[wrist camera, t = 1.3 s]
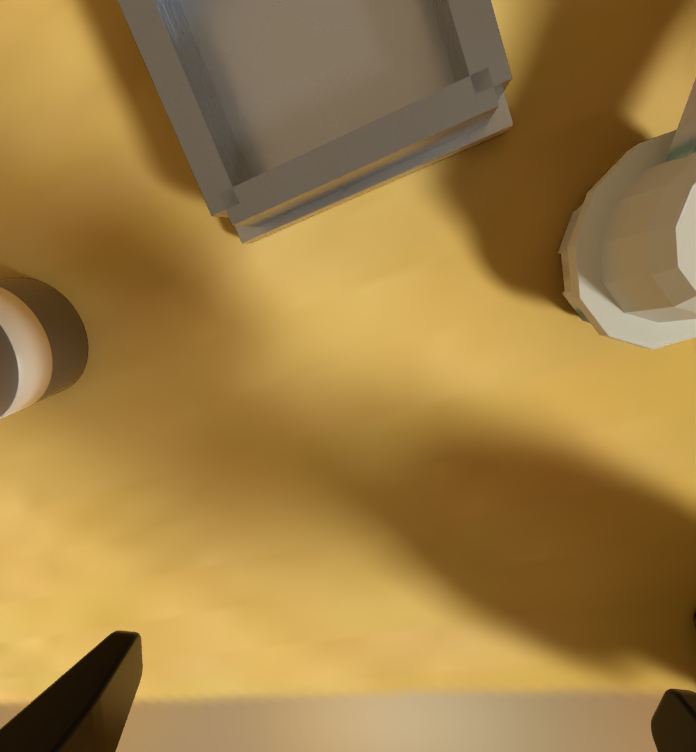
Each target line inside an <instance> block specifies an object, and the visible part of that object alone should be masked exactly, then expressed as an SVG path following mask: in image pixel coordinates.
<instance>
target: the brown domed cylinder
mask: <svg viewBox="0 0 696 752" xmlns="http://www.w3.org/2000/svg"><path fill="white" fill-rule="evenodd" d="M87 358H88V340H87V335H86V331H85V328H84V325H83V323H82V321H81V318H80V316H79V315H78V313H77V311H76V310H75V308H74V307H73V306H72V304H71V303H70V302H69V301H68V300H67V299H66V298H65V297H64V296H63V295H62V294H61V293H60V292H58V291H57V290H55V289H54V288H53V287H51V286H49V285H47V284H45V283H43V282H40V281H38V280H34V279H30V278H12V279H2V280H0V419H2V418H4V417H7V416H9V415H11V414H13V413H16V412H18V411H20V410H22V409H25V408H27V407H29V406H31V405H32V404H34V403H35V402H38V401H40V400H42V399H44V398H47V397H49V396H51V395H53V394H56V393H58V392H60V391H63V390H65V389H67V388H69V387H70V386H71V385H73V384H74V383H75V382H76V381H77V380H78V379H79V377H80V376H81V375H82V373H83V371H84V369H85V366H86V363H87Z"/></svg>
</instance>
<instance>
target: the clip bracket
mask: <svg viewBox="0 0 696 752" xmlns="http://www.w3.org/2000/svg"><path fill="white" fill-rule="evenodd" d="M117 1H118V3H119V5H120V7H121V10H122V12H123V14H124V17H125V19H126V21H127V23H128V26H129V28H130V30H131V33H132V35H133V37H134V39H135V42H136V44H137V46H138V49H139V51H140V53H141V55H142V58H143V60H144V62H145V65H146V67H147V69H148V71H149V74H150V76H151V78H152V81H153V83H154V85H155V87H156V90H157V92H158V94H159V97H160V99H161V101H162V103H163V106H164V108H165V110H166V113H167V115H168V117H169V119H170V122H171V124H172V126H173V129H174V131H175V133H176V135H177V138H178V140H179V142H180V145H181V147H182V149H183V151H184V154H185V156H186V158H187V161H188V163H189V165H190V168H191V170H192V172H193V174H194V177H195V179H196V181H197V184H198V186H199V188H200V190H201V193H202V195H203V197H204V200H205V202H206V204H207V206H208V209H209V211H210V213H211V216H215V217H225V218H229V219H230V221H231V224H232V226H235V228H236V231H237V233H238V235H239V238H240V240H241V242H242V243H252V242H254V241H256V240H259V239H261V238H263V237H266V236H268V235H270V234H273V233H275V232H277V231H279V230H282V229H284V228H286V227H289V226H291V225H293V224H296V223H298V222H300V221H302V220H305V219H307V218H309V217H312V216H314V215H316V214H318V213H321V212H323V211H325V210H328V209H330V208H332V207H335V206H337V205H339V204H341V203H344V202H346V201H348V200H351V199H353V198H355V197H358V196H360V195H362V194H364V193H367V192H369V191H371V190H374V189H376V188H378V187H381V186H383V185H385V184H387V183H390V182H392V181H394V180H397V179H399V178H401V177H404V176H406V175H408V174H410V173H413V172H415V171H417V170H420V169H422V168H424V167H427V166H429V165H431V164H433V163H436V162H438V161H440V160H443V159H445V158H447V157H449V156H452V155H454V154H456V153H459V152H461V151H463V150H466V149H468V148H470V147H472V146H475V145H477V144H479V143H482V142H484V141H486V140H489V139H491V138H493V137H495V136H498V135H500V134H502V133H505V132H507V131H508V130H509V129H510V128H511V127H512V126H513V122H512V118H511V115H510V111H509V107H508V104H507V100H506V97H505V93H504V90H505V89H506V87H507V86H508V84H509V82H510V81H511V79H512V76H511V72H510V68H509V65H508V61H507V58H506V54H505V50H504V47H503V43H502V39H501V36H500V32H499V29H498V25H497V21H496V18H495V14H494V10H493V7H492V3H491V0H117Z"/></svg>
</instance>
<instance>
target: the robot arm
mask: <svg viewBox="0 0 696 752" xmlns="http://www.w3.org/2000/svg"><path fill="white" fill-rule="evenodd" d="M694 623H695V627H696V612H695V614H694ZM142 669H143V664H142V646H141V636H140V635H139V633H137V632H129V631H115V632H113V633H111V634H110V635H109V636H108V637H106V638H105V639H104V640H103V641H102V642H101V643H99V644H98V645H97V646H96V647H95V648H94V649H93V650H91V651H90V652H89V653H88V654H87V655H86V656H84V657H83V658H82V659H81V660H80V661H79V662H77V663H76V664H75V665H74V666H73V667H72V668H70V669H69V670H68V671H67V672H66V673H65V674H64V675H62V676H61V677H60V678H59V679H58V680H57V681H55V682H54V683H53V684H52V685H51V686H50V687H48V688H47V689H46V690H45V691H44V692H43V693H42V694H40V695H39V696H38V697H37V698H36V699H35V700H33V701H32V702H31V703H30V704H29V705H28V706H26V707H25V708H24V709H23V710H22V711H21V712H20V713H18V714H17V715H16V716H15V717H14V718H13V719H11V720H10V721H9V722H8V723H7V724H6V725H4V726H3V727H2V728H1V729H0V752H115V751H116V748H117V746H118V743H119V740H120V737H121V734H122V731H123V728H124V726H125V723H126V720H127V717H128V714H129V712H130V709H131V706H132V703H133V700H134V697H135V694H136V692H137V689H138V686H139V683H140V679H141V675H142ZM651 731H652V736H653V739H654V742H655V744H656V747H657V750H658V752H696V693H695V692H693V691H689V690H680V689H669V690H667V691H666V692H665V693H664V695H663V697H662V699H661V701H660V703H659V705H658V707H657V709H656V711H655V713H654V715H653V717H652V720H651Z"/></svg>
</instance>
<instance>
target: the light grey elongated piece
mask: <svg viewBox="0 0 696 752" xmlns="http://www.w3.org/2000/svg"><path fill="white" fill-rule="evenodd" d="M558 253H559V254H561V258H562V269H563V279H564V289H565V291H563V292H562V294H563V295H564V297H565V298H566V299H567V301H568V302H569V303H570V305H571V306H572V307H573V309H574V310H575V311H576V312H577V314H578V315H579V316H580V318H581V319H582V320H583V321H586V322H589V323H591V324H592V326H593V327H594V328H595V330H596V331H597V332H598V334H599V335H602V336H605V337H609V338H612V339H616V340H619V341H622V342H626V343H629V344H633V345H636V346H639V347H643V348H648V349H657V348H660V347H664V346H667V345H671V344H674V343H677V342H681V341H684V340H688V339H691V338H694V337H696V79H695V82H694V85H693V87H692V90H691V93H690V96H689V98H688V101H687V104H686V106H685V109H684V112H683V115H682V117H681V120H680V123H679V125H678V128H677V130H675V131H672V132H669V133H667V134H664V135H661V136H658V137H655V138H652V139H650V140H647V141H644V142H641V143H639V144H637V145H635V146H634V147H632V148H631V149H629V150H628V151H627V152H626V153H625V154H624V155H623V156H622V157H621V158H620V159H619V160H618V161H617V162H616V163H615V164H614V165H613V166H612V167H611V168H610V170H609V171H608V172H607V173H606V174H605V175H604V176H603V177H602V178H601V179H600V180H599V181H598V182H597V183H596V184H595V185H594V186H593V187H592V188H591V189H590V190H589V191H588V193H587V194H586V197H585V200H584V203H583V204H582V205H581V206H580V207H579V208H578V209H577V210H576V211H574V212H572V215H571V218H570V221H569V223H568V226H567V229H566V232H565V234H564V237H563V240H562V243H561V245H560V248H559V251H558Z"/></svg>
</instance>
